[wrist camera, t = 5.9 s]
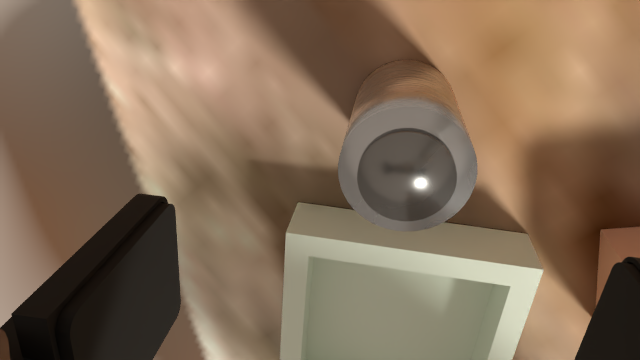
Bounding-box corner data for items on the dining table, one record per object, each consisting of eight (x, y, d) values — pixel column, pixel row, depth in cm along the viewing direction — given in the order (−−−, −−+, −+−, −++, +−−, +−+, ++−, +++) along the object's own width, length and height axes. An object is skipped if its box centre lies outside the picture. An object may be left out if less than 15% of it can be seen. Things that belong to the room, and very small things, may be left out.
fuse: (360, 54, 19) (343, 103, 13) (465, 65, 18) (494, 121, 13) (350, 148, 20) (330, 228, 15) (445, 161, 20) (463, 247, 14)
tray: (297, 202, 22) (285, 232, 20) (527, 233, 21) (543, 269, 19) (288, 362, 27) (277, 402, 24) (476, 395, 25) (484, 439, 23)
